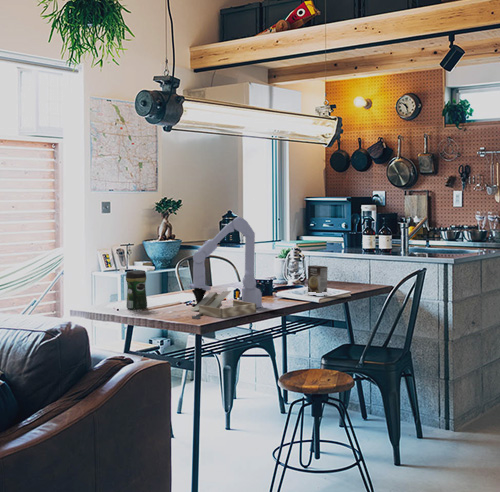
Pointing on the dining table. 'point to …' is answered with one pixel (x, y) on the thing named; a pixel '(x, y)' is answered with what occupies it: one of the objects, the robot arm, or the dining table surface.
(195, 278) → the robot arm
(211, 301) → the beige slanted rack
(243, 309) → the bay
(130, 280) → the coffee jar
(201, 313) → the hook
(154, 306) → the dining table surface
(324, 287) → the coffee box
